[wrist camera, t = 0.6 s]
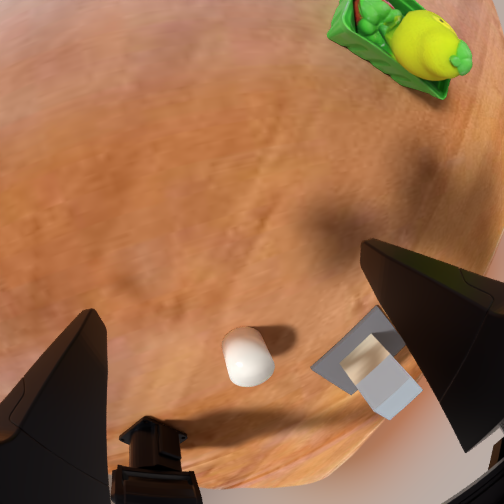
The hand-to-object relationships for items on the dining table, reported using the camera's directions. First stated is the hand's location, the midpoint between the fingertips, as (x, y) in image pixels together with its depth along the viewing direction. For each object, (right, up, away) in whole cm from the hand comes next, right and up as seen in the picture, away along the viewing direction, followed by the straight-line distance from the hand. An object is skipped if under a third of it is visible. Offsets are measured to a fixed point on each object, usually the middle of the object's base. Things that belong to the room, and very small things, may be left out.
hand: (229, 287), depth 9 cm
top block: (+15, -13, +20) cm, 28 cm away
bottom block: (+14, -11, +24) cm, 30 cm away
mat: (+14, -11, +24) cm, 30 cm away
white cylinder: (0, -8, +19) cm, 20 cm away
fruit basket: (+11, +20, +11) cm, 25 cm away
